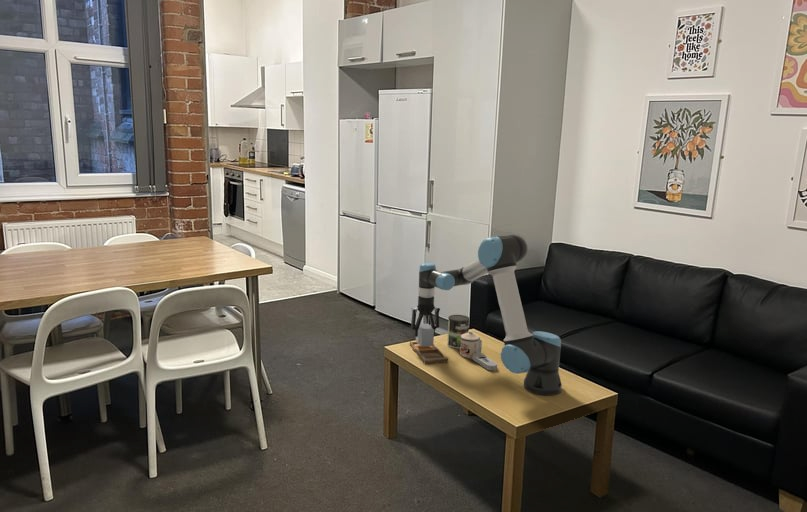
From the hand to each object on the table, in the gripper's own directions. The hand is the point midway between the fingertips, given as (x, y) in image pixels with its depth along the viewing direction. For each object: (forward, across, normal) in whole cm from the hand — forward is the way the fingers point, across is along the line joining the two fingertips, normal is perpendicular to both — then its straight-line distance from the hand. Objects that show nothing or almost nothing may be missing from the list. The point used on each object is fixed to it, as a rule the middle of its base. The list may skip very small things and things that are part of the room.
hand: (424, 342), depth 270 cm
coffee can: (+4, -18, -2) cm, 18 cm away
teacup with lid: (+4, -19, +13) cm, 23 cm away
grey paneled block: (0, 0, 0) cm, 0 cm away
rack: (+3, 0, +6) cm, 7 cm away
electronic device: (+4, -21, +24) cm, 32 cm away
